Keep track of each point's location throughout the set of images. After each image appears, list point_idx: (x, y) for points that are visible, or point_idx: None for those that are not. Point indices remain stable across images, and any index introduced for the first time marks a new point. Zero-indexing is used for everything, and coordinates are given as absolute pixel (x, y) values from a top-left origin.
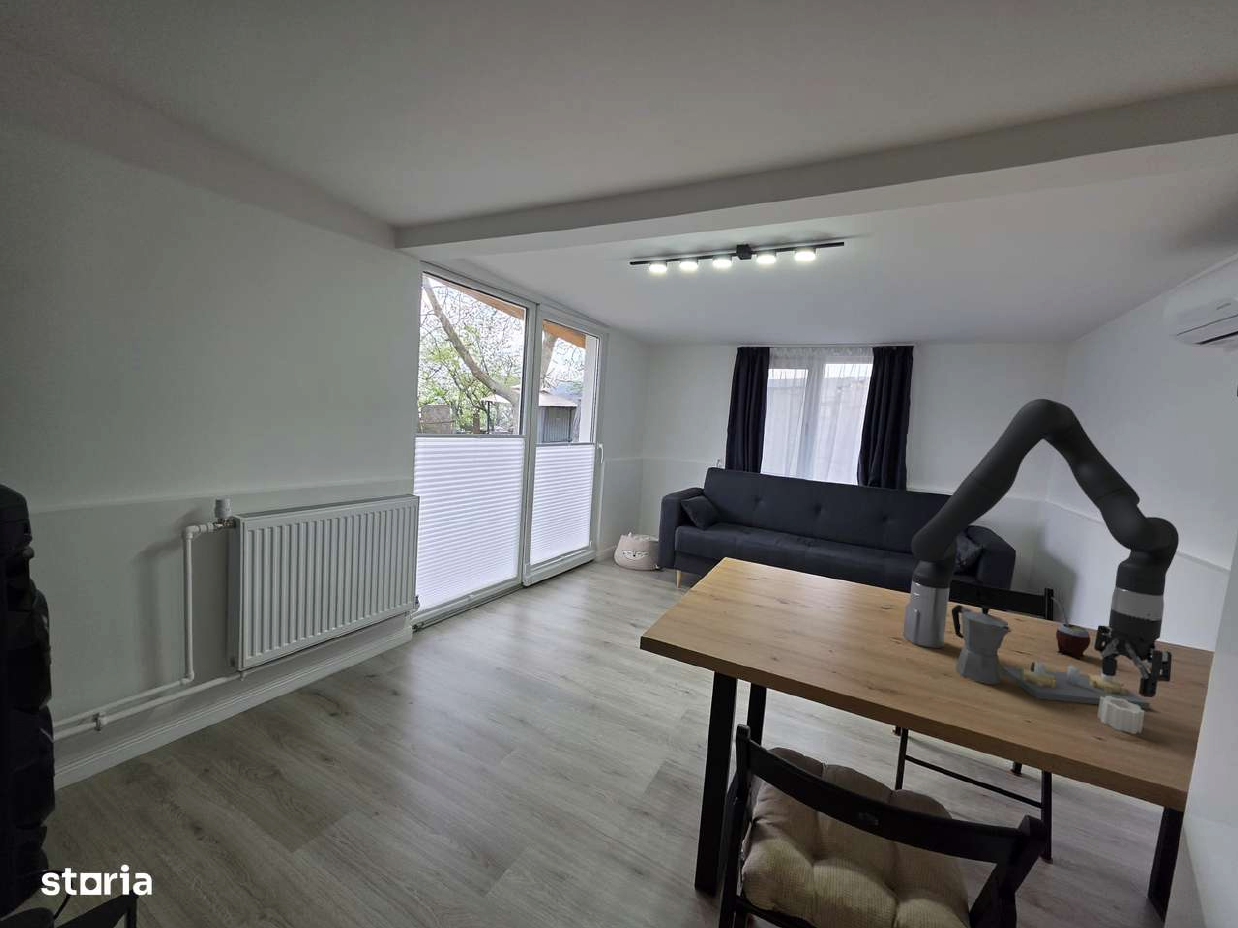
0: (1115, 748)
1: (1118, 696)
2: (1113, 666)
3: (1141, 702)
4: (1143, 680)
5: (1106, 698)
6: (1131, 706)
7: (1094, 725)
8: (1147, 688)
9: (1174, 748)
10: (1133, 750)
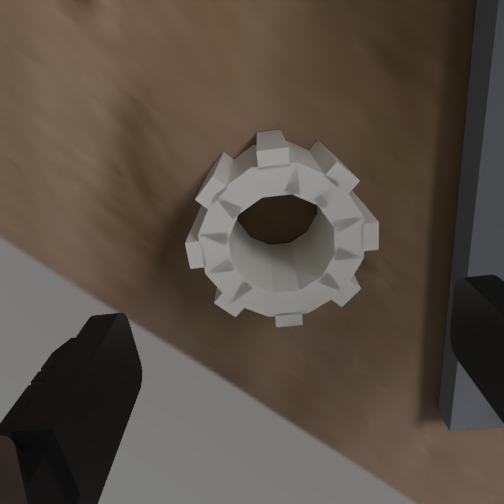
0: (5, 17)
1: None
2: (499, 389)
3: (451, 405)
4: (27, 411)
5: (337, 199)
6: (283, 288)
7: (222, 61)
8: (41, 377)
9: (140, 300)
10: (33, 107)
